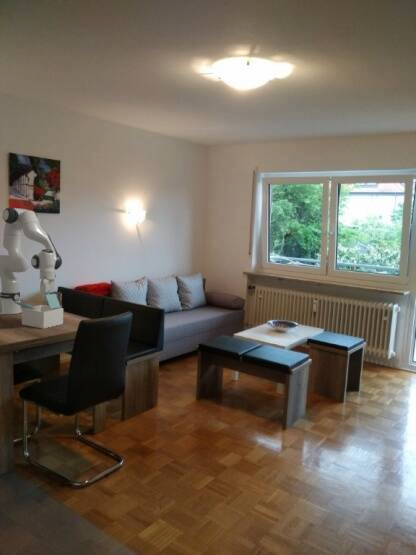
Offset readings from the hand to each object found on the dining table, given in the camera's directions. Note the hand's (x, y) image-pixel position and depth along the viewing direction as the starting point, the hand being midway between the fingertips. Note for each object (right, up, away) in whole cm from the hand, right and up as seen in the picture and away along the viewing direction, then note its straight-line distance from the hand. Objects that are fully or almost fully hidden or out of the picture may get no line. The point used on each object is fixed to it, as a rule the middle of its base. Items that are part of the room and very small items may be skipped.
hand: (47, 298), depth 275 cm
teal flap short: (+6, -6, -3) cm, 9 cm away
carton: (-3, -16, +1) cm, 16 cm away
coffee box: (-4, -13, +25) cm, 29 cm away
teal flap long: (-7, -6, -7) cm, 12 cm away
